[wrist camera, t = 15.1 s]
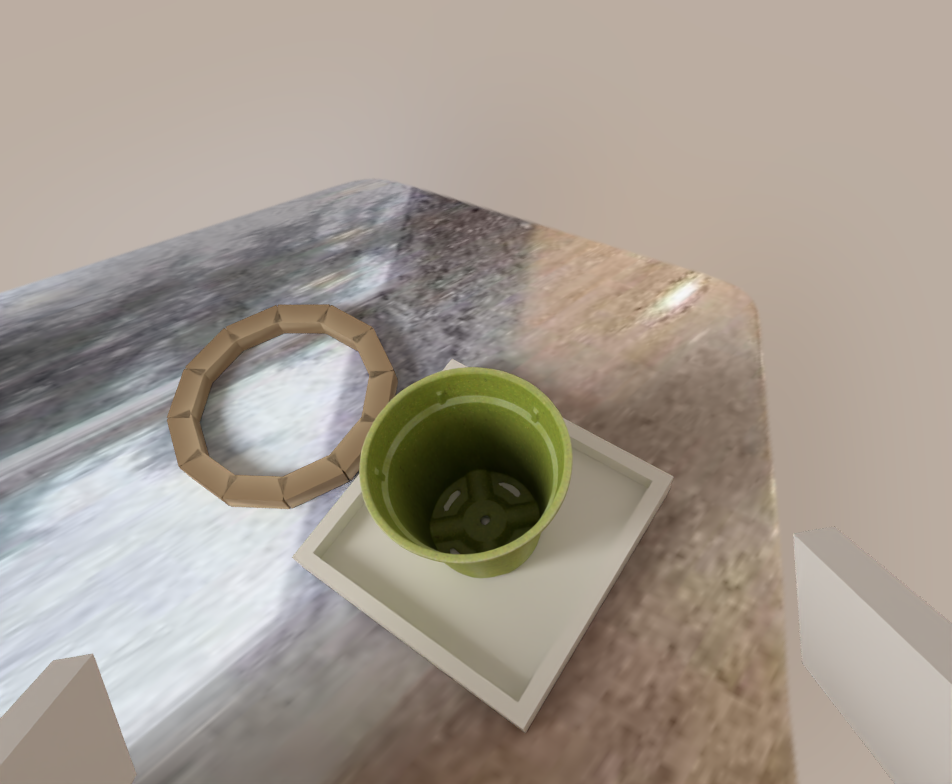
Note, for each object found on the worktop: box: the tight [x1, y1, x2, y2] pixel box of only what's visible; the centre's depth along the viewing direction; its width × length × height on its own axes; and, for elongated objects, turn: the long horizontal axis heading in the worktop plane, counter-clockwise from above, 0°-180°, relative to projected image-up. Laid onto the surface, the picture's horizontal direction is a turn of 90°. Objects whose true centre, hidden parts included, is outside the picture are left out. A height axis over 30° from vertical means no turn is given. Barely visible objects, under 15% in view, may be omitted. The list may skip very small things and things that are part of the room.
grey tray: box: [292, 359, 674, 733], centre depth 38 cm, size 15×15×2 cm
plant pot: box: [359, 367, 573, 578], centre depth 34 cm, size 9×9×9 cm
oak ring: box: [167, 305, 398, 509], centre depth 44 cm, size 14×14×1 cm
